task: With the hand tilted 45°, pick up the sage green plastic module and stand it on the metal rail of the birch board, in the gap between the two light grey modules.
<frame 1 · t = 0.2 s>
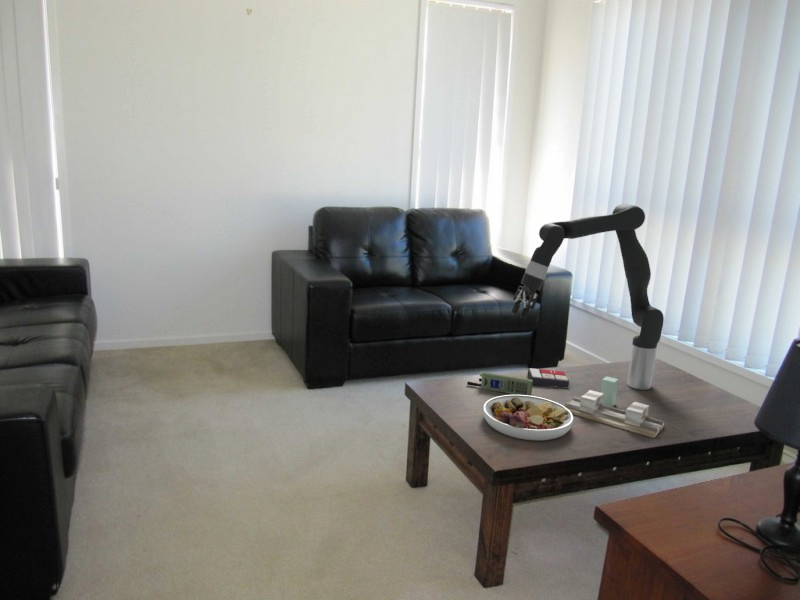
hand: (518, 315, 237), 31 cm above the table, tool tilted 20°, fingers open, 8 cm apart
handheld radio: (498, 391, 244), on the table
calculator: (547, 383, 257), on the table
bowl: (526, 425, 215), on the table
rail board: (612, 418, 223), on the table
sage module: (607, 404, 236), on the table
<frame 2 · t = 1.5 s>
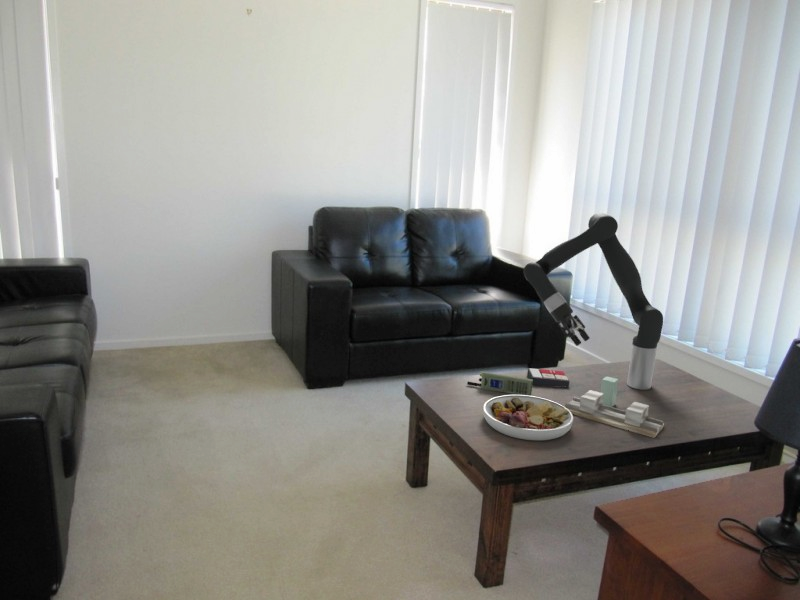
hand: (583, 342, 237), 22 cm above the table, tool tilted 45°, fingers open, 8 cm apart
nothing on the table moved.
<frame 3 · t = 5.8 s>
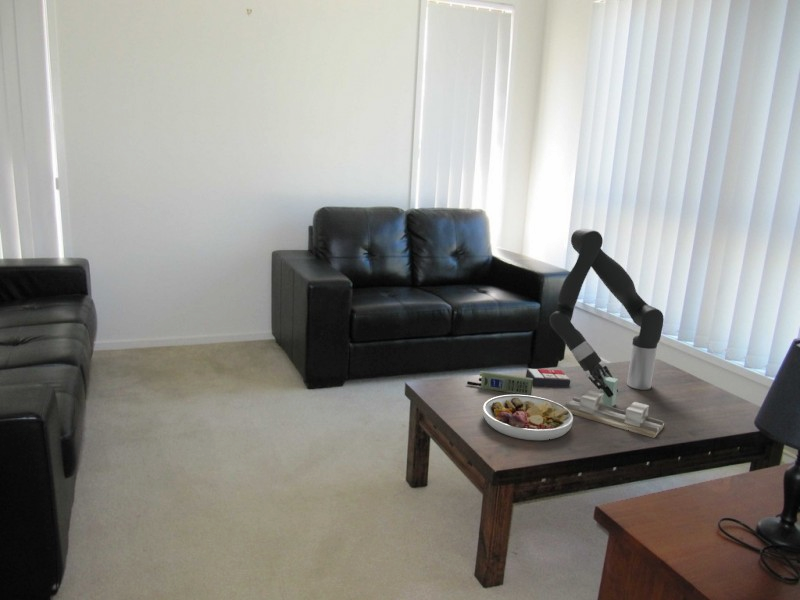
hand: (613, 394, 233), 5 cm above the table, tool tilted 45°, fingers closed on sage module, 4 cm apart
sage module: (607, 404, 236), on the table, touching gripper
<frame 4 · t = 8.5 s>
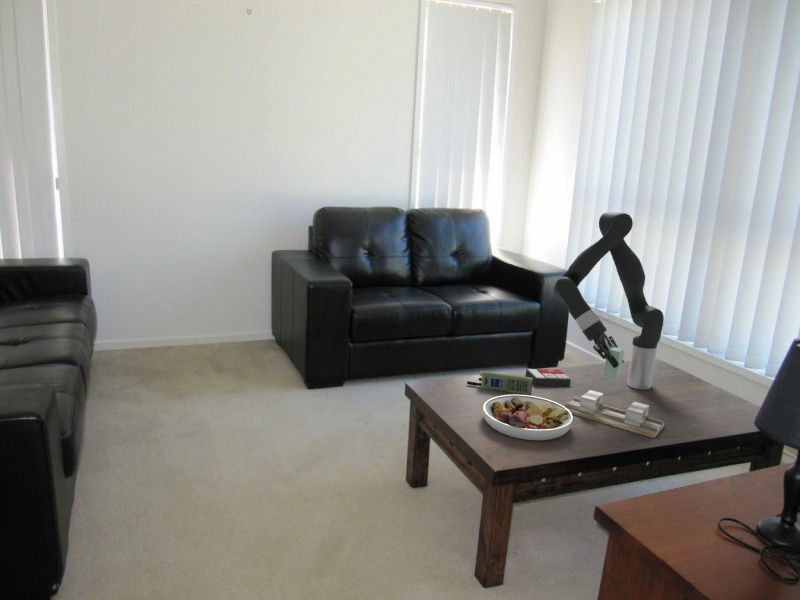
hand: (619, 364, 224), 18 cm above the table, tool tilted 45°, fingers closed on sage module, 4 cm apart
sage module: (612, 375, 226), point 14 cm above the table, touching gripper
when the fingers open (7 cm above the table, at t = 11.2 s): sage module stays where it is, resting on rail board.
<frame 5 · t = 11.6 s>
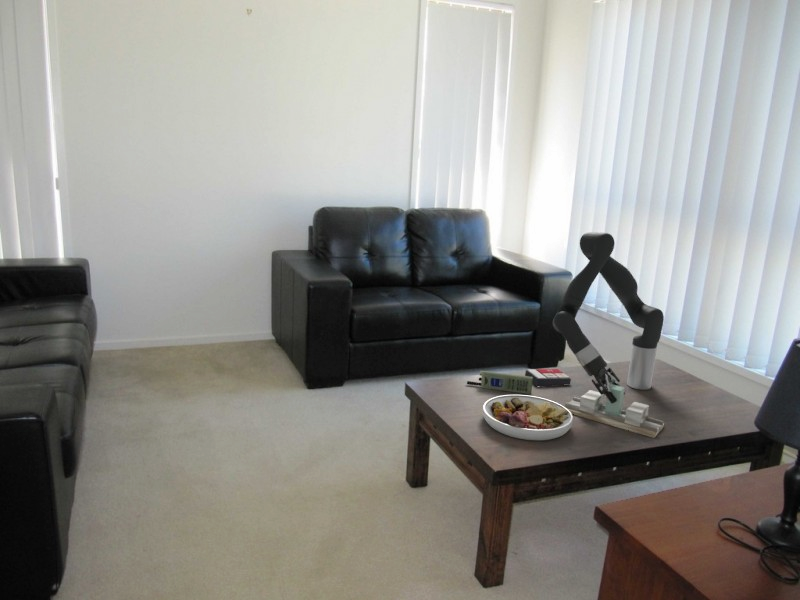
hand: (618, 398, 220), 8 cm above the table, tool tilted 45°, fingers open, 8 cm apart
sage module: (612, 414, 222), point 2 cm above the table, touching rail board
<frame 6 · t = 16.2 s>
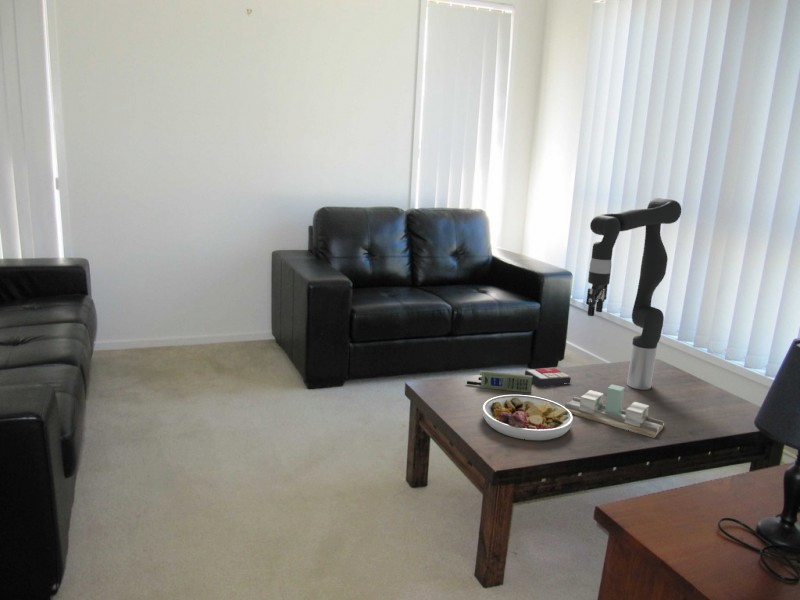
hand: (594, 313, 234), 33 cm above the table, tool pointing down, fingers open, 8 cm apart
at the end: sage module 0.1 cm off-centre on the rail board, point 1.7 cm above the rail board's base; sage module tilted 0°; the gripper is holding nothing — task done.
